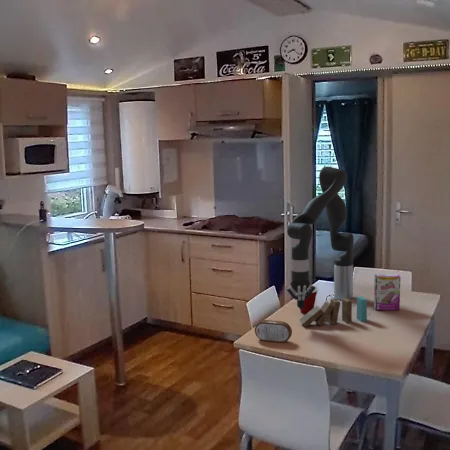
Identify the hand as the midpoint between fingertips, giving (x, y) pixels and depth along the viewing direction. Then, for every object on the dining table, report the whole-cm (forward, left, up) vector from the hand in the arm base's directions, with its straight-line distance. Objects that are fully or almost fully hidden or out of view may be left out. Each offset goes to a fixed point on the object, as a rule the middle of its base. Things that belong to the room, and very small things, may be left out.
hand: (300, 308), depth 243 cm
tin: (+14, -16, -8) cm, 23 cm away
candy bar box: (-11, +46, -8) cm, 48 cm away
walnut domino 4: (0, +21, -8) cm, 23 cm away
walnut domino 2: (0, +7, -7) cm, 10 cm away
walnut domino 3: (0, +14, -8) cm, 16 cm away
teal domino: (0, +28, -8) cm, 29 cm away
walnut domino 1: (0, +1, -7) cm, 7 cm away
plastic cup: (-17, +9, -8) cm, 21 cm away
